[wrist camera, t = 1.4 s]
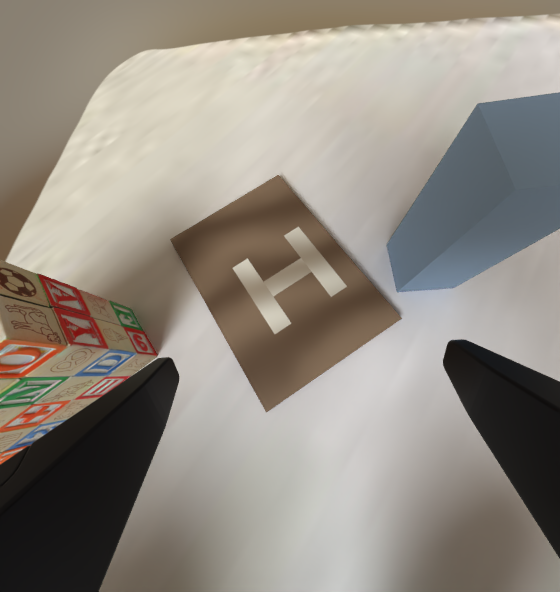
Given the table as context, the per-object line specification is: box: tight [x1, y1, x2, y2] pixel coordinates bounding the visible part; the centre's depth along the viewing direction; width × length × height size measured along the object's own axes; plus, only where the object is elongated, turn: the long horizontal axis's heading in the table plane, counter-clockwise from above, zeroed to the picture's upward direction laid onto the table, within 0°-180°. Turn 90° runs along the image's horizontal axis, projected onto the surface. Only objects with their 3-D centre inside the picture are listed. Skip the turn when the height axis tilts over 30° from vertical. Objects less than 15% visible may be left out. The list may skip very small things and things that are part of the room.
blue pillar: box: [387, 93, 560, 292], centre depth 16 cm, size 5×5×13 cm
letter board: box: [170, 175, 402, 412], centre depth 23 cm, size 20×14×1 cm
